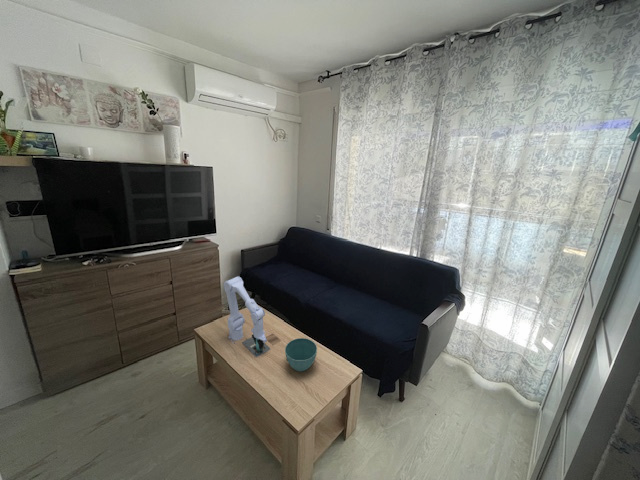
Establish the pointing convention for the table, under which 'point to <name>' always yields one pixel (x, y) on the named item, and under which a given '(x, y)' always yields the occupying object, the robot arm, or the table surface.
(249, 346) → the plate
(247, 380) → the table surface
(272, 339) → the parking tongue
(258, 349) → the peg
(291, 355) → the teal bowl
